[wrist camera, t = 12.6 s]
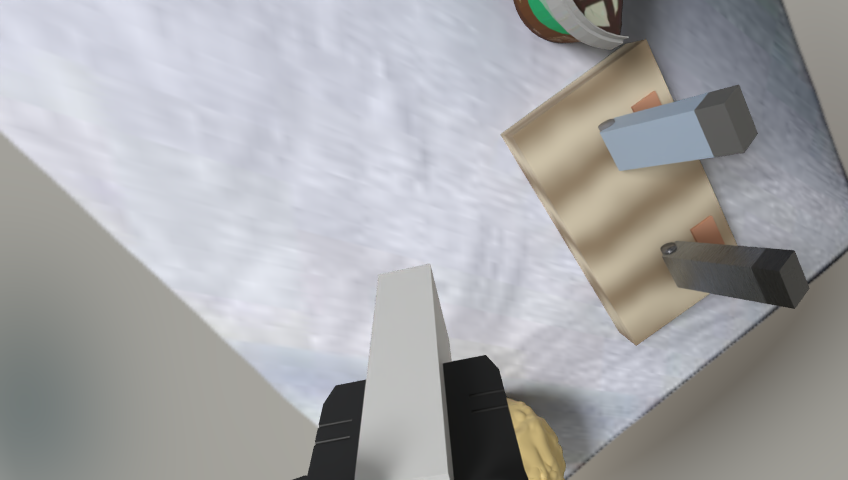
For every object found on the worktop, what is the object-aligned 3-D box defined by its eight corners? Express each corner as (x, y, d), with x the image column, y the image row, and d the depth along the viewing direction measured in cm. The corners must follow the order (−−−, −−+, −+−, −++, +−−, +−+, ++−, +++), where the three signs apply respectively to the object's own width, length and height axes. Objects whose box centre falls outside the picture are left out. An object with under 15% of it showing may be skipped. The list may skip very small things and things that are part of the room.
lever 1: (592, 132, 40) (723, 100, 30) (606, 117, 40) (738, 82, 31) (613, 173, 41) (745, 155, 32) (626, 158, 42) (758, 135, 33)
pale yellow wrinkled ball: (549, 441, 53) (600, 520, 42) (455, 486, 52) (484, 578, 42) (519, 363, 49) (566, 429, 39) (417, 411, 48) (438, 491, 38)
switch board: (500, 134, 42) (513, 136, 39) (624, 44, 42) (648, 38, 38) (619, 332, 50) (638, 347, 47) (723, 258, 50) (749, 268, 47)
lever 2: (654, 254, 44) (778, 269, 34) (668, 238, 45) (793, 248, 35) (671, 287, 46) (795, 310, 36) (685, 271, 46) (810, 290, 37)
